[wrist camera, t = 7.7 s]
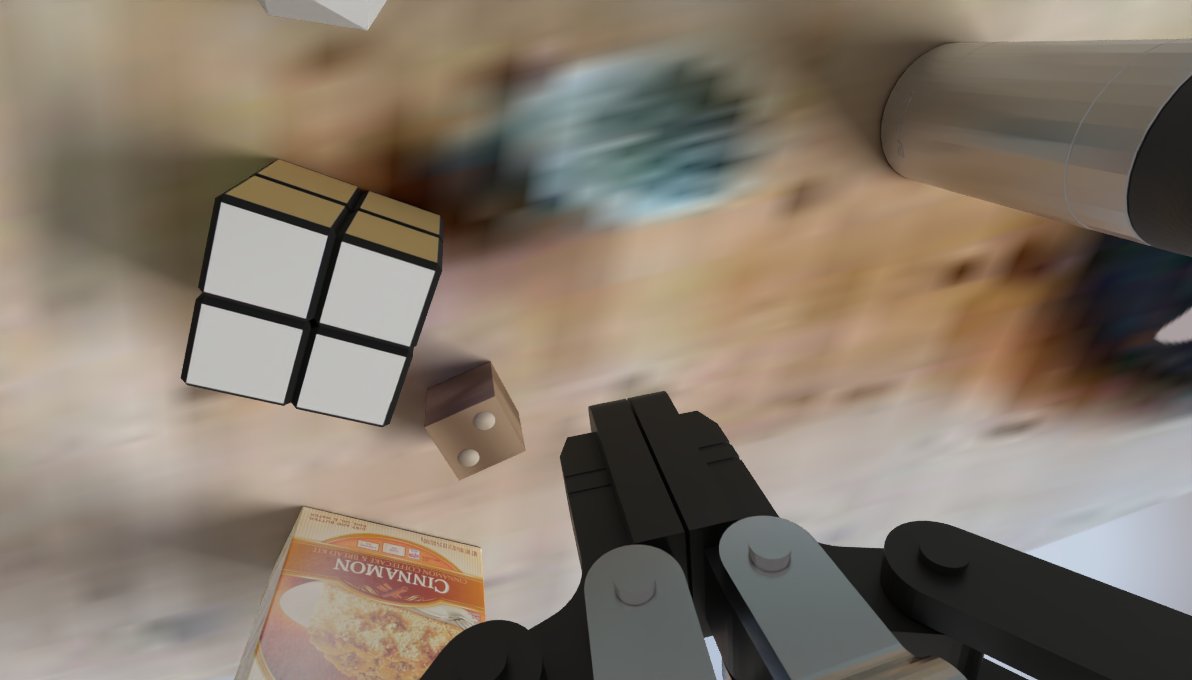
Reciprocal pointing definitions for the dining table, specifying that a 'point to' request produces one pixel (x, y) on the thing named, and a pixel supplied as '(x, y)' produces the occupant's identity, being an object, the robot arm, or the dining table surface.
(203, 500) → the dining table surface
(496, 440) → the walnut block
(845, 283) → the dining table surface
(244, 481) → the dining table surface
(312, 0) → the die
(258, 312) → the puzzle cube
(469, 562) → the coffeecake box
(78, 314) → the dining table surface
